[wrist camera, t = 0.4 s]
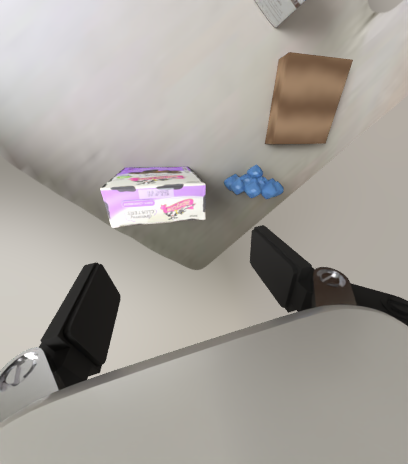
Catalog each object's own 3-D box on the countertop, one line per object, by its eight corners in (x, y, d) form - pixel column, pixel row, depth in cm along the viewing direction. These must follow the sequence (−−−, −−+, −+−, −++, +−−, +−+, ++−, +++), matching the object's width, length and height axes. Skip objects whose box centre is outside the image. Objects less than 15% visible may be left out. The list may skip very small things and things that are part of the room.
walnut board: (278, 59, 30) (289, 52, 28) (338, 65, 33) (352, 59, 31) (265, 143, 37) (272, 144, 35) (314, 143, 40) (325, 143, 38)
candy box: (189, 166, 36) (208, 183, 22) (190, 192, 39) (207, 221, 25) (123, 166, 33) (97, 186, 19) (129, 194, 36) (110, 229, 22)
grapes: (265, 162, 40) (301, 170, 30) (259, 189, 43) (289, 205, 33) (221, 160, 37) (244, 168, 27) (218, 189, 40) (237, 206, 30)
